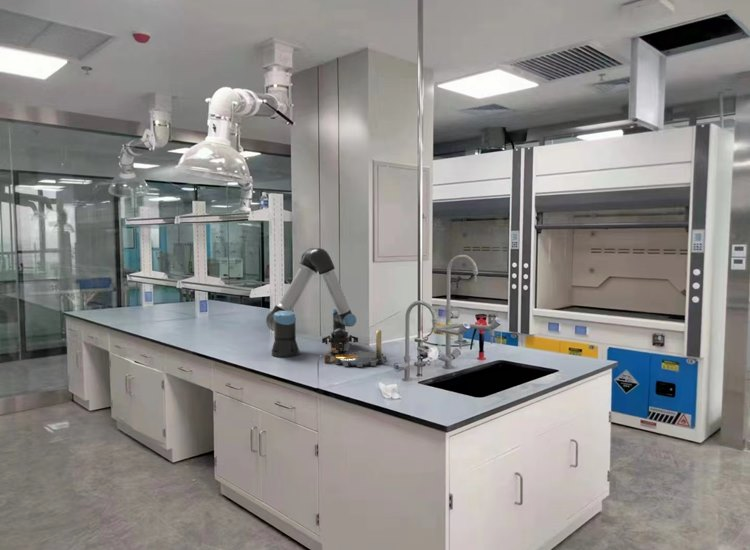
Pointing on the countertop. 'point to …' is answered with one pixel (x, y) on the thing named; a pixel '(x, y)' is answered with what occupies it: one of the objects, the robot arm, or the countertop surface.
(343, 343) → the supplement container
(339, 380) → the countertop surface
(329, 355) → the index mark
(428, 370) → the countertop surface
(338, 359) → the turntable
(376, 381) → the countertop surface
